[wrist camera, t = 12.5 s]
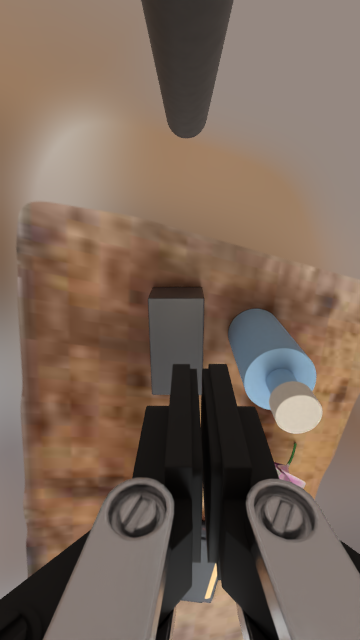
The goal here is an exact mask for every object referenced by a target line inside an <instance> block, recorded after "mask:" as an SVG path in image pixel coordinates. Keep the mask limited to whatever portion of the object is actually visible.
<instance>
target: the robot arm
mask: <svg viewBox="0 0 360 640" xmlns="http://www.w3.org/2000/svg"><path fill="white" fill-rule="evenodd" d="M202 493H204V510H205V527H206V543H207V559H208V563H216V567H217V579H218V580H221V583H222V588H223V589H224V590H225V591H226V592H227V593H228V594H229V595H230V596H231V597H232V598H233V600H234V601H235V602H236V604H237V613H238V617H239V621H240V626H241V630H242V634H243V638H244V640H360V554H359V553H357V552H356V551H354V550H353V549H352V548H350V547H349V546H347V545H346V544H345V543H343V542H342V541H340V540H339V539H338V537H337V535H336V534H335V532H334V530H333V529H332V527H331V525H330V524H329V522H328V520H327V519H326V517H325V515H324V514H323V512H322V510H321V509H320V507H319V505H318V504H317V503H316V502H315V500H314V499H313V498H312V496H311V495H310V494H309V493H307V492H306V491H305V490H304V489H302V488H301V487H299V486H297V485H295V484H294V483H292V482H289V481H285V480H281V479H279V476H278V473H277V470H276V467H275V464H274V461H273V458H272V455H271V452H270V449H269V446H268V443H267V440H266V437H265V434H264V431H263V428H262V425H261V422H260V419H259V416H258V413H257V411H256V408H255V407H251V406H237V404H236V400H235V396H234V392H233V388H232V384H231V380H230V375H229V371H228V367H227V364H209V368H208V369H202V396H201V425H200V410H199V394H198V378H197V369H190V364H173V368H172V380H171V392H170V404H169V406H147V407H146V411H145V416H144V421H143V426H142V431H141V436H140V441H139V447H138V452H137V457H136V462H135V467H134V472H133V477H132V479H130V480H126V481H125V482H123V483H121V484H119V485H117V486H116V487H115V488H114V489H113V490H112V491H111V492H110V493H109V494H108V496H107V497H106V499H105V500H104V502H103V504H102V506H101V508H100V511H99V513H98V515H97V518H96V520H95V522H94V524H93V527H92V529H91V530H90V531H89V532H87V533H86V534H85V535H83V536H82V537H81V538H80V539H78V540H77V541H76V542H74V543H73V544H72V545H70V546H69V547H68V548H67V549H65V550H64V551H63V552H61V553H60V554H59V555H58V556H56V557H55V558H54V559H52V560H51V561H50V562H48V563H47V564H46V565H45V566H43V567H42V568H41V569H39V570H38V571H37V572H35V573H34V574H33V575H32V576H30V577H29V578H28V579H26V580H25V581H24V582H22V583H21V584H20V585H19V586H17V587H16V588H15V589H13V590H12V591H11V592H9V594H7V595H6V596H4V597H3V598H2V599H0V640H172V637H173V630H174V623H175V616H176V605H177V604H178V603H179V601H180V600H181V599H182V598H183V597H184V596H185V594H186V593H187V592H188V591H189V590H190V588H191V587H192V563H201V532H202Z"/></svg>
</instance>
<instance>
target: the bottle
mask: <svg viewBox="0 0 360 640" xmlns="http://www.w3.org/2000/svg"><path fill="white" fill-rule="evenodd" d="M228 338H229V342H230V345H231V348H232V351H233V354H234V357H235V360H236V363H237V366H238V370H239V373H240V376H241V379H242V382H243V385H244V388H245V391H246V393H247V395H248V397H249V398H250V399H251V400H252V401H253V402H254V403H255V404H256V405H258V406H260V407H262V408H265V409H268V410H271V411H272V413H273V416H274V418H275V420H276V423H277V424H278V426H279V427H280V428H281V429H282V430H284V431H286V432H289V433H295V434H298V433H304V432H307V431H309V430H311V429H313V428H314V427H315V426H316V425H317V424H318V423H319V421H320V420H321V417H322V407H321V404H320V403H319V401H318V400H317V398H316V397H315V395H314V394H313V392H312V390H313V388H314V386H315V383H316V370H315V367H314V364H313V363H312V361H311V360H310V359H309V357H308V356H307V355H306V354H305V352H304V351H303V350H302V349H301V348H300V346H299V345H298V344H297V343H296V342H295V340H294V339H293V338H292V337H291V336H290V334H289V333H288V332H287V331H286V329H285V328H284V327H283V326H282V325H281V323H280V322H279V321H278V320H277V319H276V317H275V316H274V315H273V314H271V313H270V312H268V311H266V310H263V309H249V310H246V311H244V312H242V313H240V314H239V315H237V316H236V317H235V318H234V320H233V321H232V323H231V324H230V327H229V331H228Z"/></svg>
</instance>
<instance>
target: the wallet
mask: <svg viewBox="0 0 360 640" xmlns="http://www.w3.org/2000/svg"><path fill="white" fill-rule="evenodd" d="M217 582H218V579H217V567H216V563H208V559H207V543H206V527H205V522H204V521H202V532H201V563H192V587H191V588H190V590H189V591H188V592H187V593H186V594H185V596H184V597H183V598H182V599H181V600H183V601H191V602H199V603H202V602H206V603H211V601H212V598H213V596H214V592H215V588H216V585H217Z"/></svg>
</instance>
